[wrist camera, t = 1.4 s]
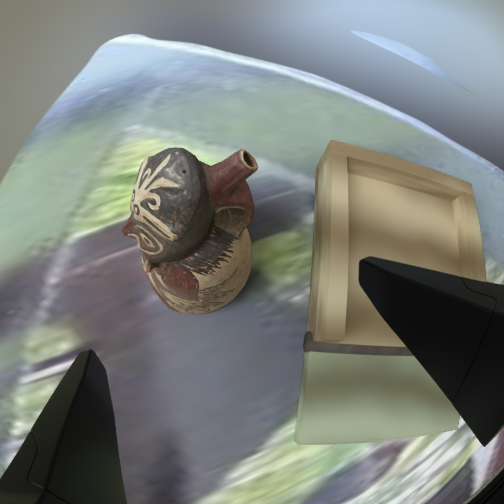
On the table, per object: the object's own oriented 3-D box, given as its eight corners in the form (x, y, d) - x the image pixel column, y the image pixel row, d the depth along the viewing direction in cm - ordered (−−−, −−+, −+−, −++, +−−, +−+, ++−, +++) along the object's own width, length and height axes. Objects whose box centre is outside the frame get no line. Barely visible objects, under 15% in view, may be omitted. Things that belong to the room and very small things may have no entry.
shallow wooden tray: (450, 427, 20) (481, 432, 16) (290, 440, 19) (307, 456, 15) (448, 203, 27) (472, 184, 23) (313, 168, 26) (328, 139, 22)
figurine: (146, 221, 22) (99, 107, 11) (241, 213, 23) (267, 93, 12) (150, 319, 20) (81, 276, 9) (255, 309, 21) (303, 255, 10)
